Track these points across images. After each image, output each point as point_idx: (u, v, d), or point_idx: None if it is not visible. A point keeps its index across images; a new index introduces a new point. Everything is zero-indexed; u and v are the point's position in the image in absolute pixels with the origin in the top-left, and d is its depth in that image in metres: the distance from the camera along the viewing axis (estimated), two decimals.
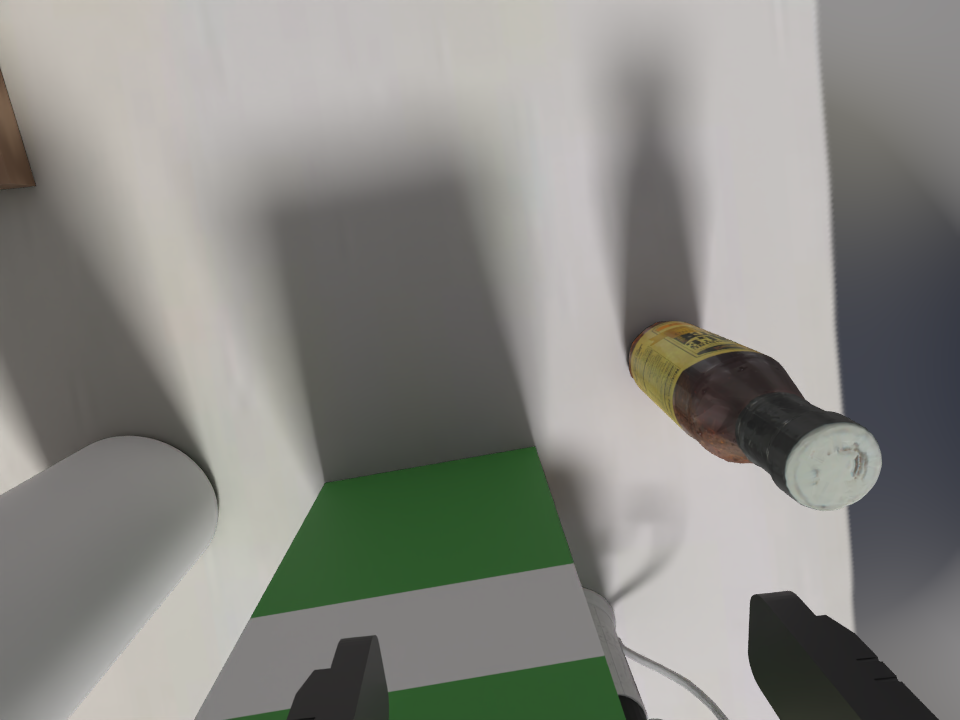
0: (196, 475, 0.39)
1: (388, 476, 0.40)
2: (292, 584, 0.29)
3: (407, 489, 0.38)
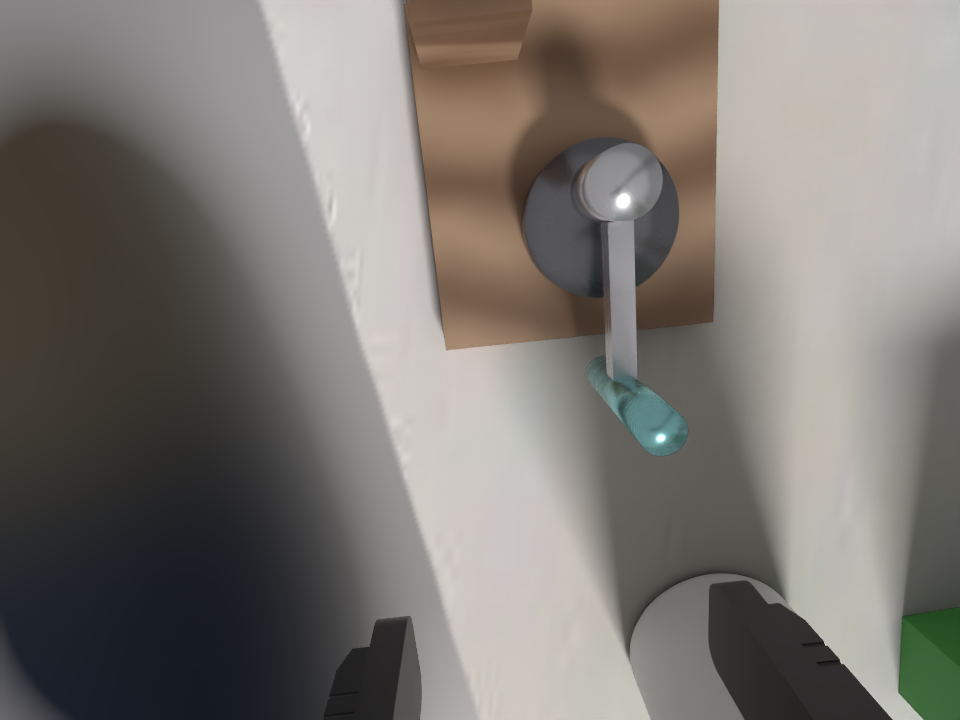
0: None
1: None
2: None
3: None
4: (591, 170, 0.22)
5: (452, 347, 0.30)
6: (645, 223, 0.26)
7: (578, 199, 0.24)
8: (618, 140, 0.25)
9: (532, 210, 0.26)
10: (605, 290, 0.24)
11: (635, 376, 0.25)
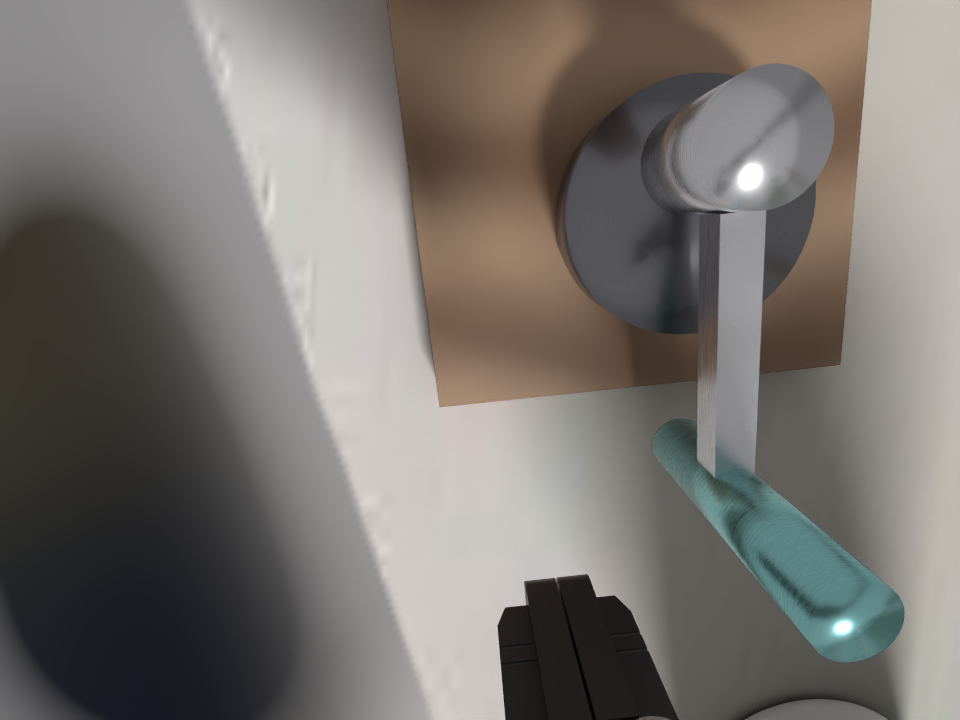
0: None
1: None
2: None
3: None
4: (703, 116, 0.12)
5: (449, 403, 0.20)
6: None
7: (661, 175, 0.14)
8: (723, 78, 0.15)
9: (578, 195, 0.16)
10: (704, 328, 0.15)
11: (752, 470, 0.15)
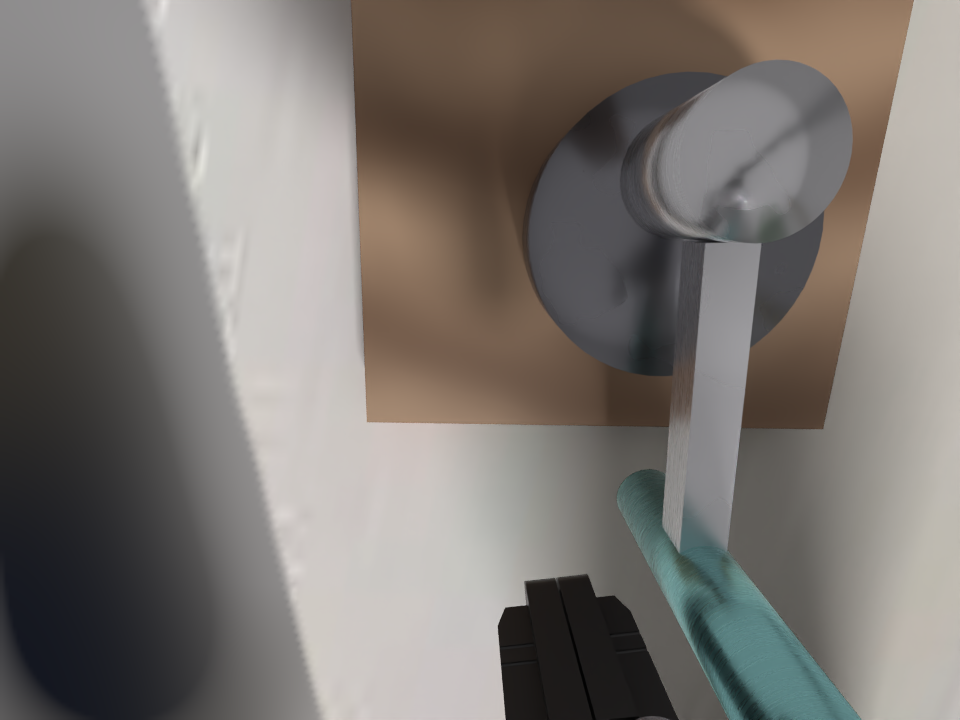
0: None
1: None
2: None
3: None
4: (689, 120, 0.09)
5: (378, 419, 0.17)
6: None
7: (640, 189, 0.12)
8: None
9: (544, 206, 0.13)
10: (679, 376, 0.12)
11: (724, 548, 0.12)
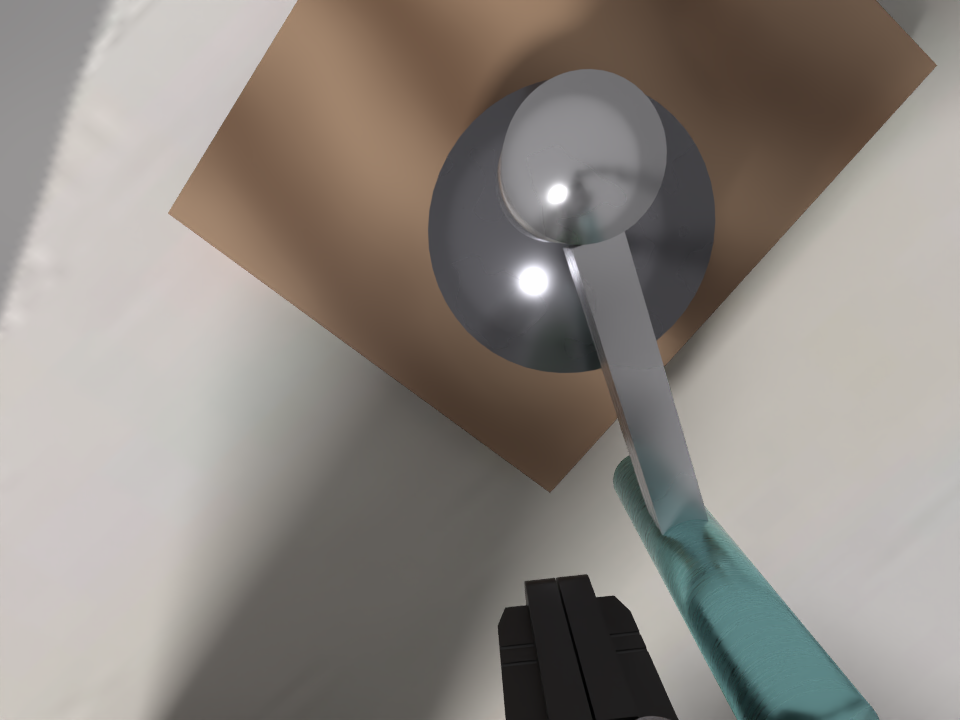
0: None
1: None
2: None
3: None
4: (502, 154, 0.10)
5: (180, 218, 0.16)
6: (652, 219, 0.14)
7: (508, 213, 0.12)
8: None
9: (440, 250, 0.14)
10: (604, 370, 0.12)
11: (704, 518, 0.13)
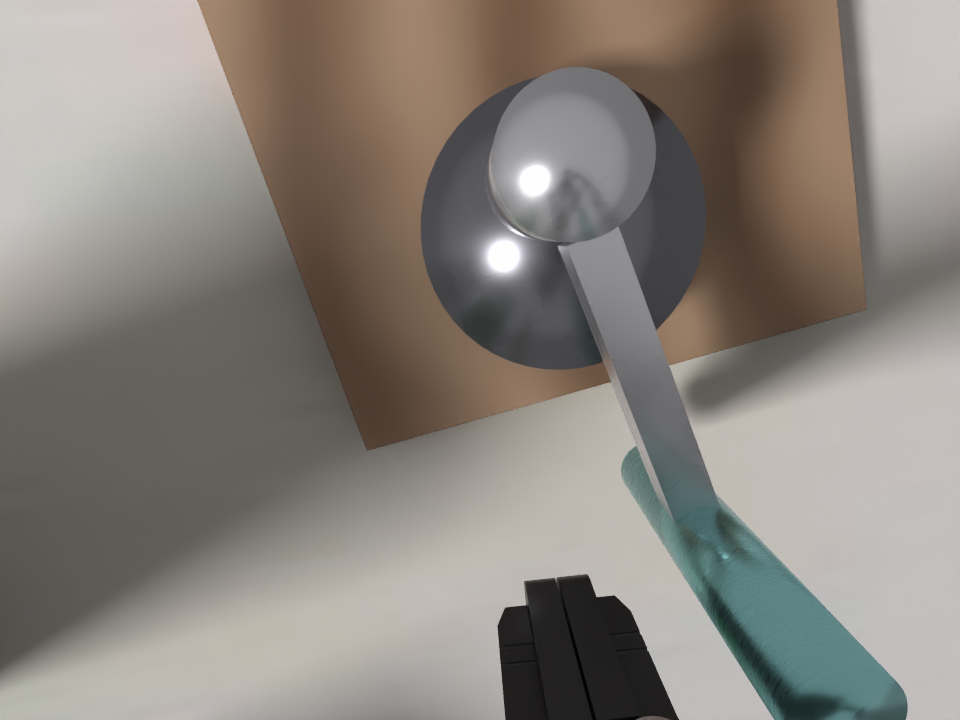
0: None
1: None
2: None
3: None
4: (492, 157, 0.10)
5: None
6: (643, 210, 0.14)
7: (501, 215, 0.12)
8: None
9: (434, 256, 0.14)
10: (607, 365, 0.13)
11: (715, 505, 0.13)
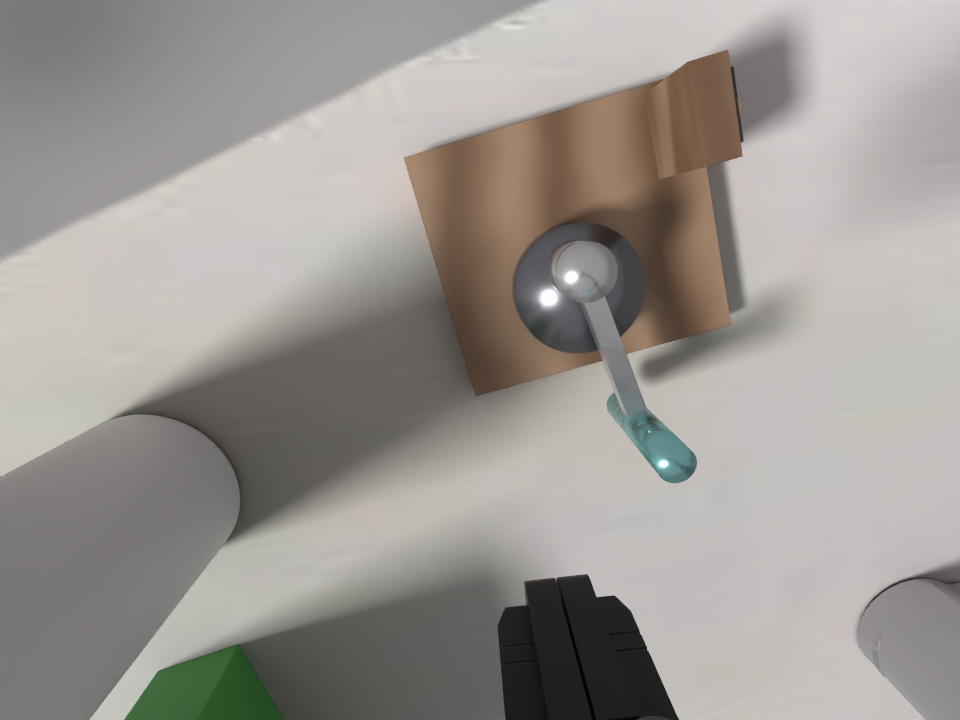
0: None
1: (264, 702, 0.42)
2: None
3: None
4: (557, 272, 0.26)
5: (407, 163, 0.31)
6: (616, 280, 0.31)
7: (555, 286, 0.29)
8: (572, 225, 0.30)
9: (521, 300, 0.31)
10: (599, 350, 0.29)
11: (645, 411, 0.29)
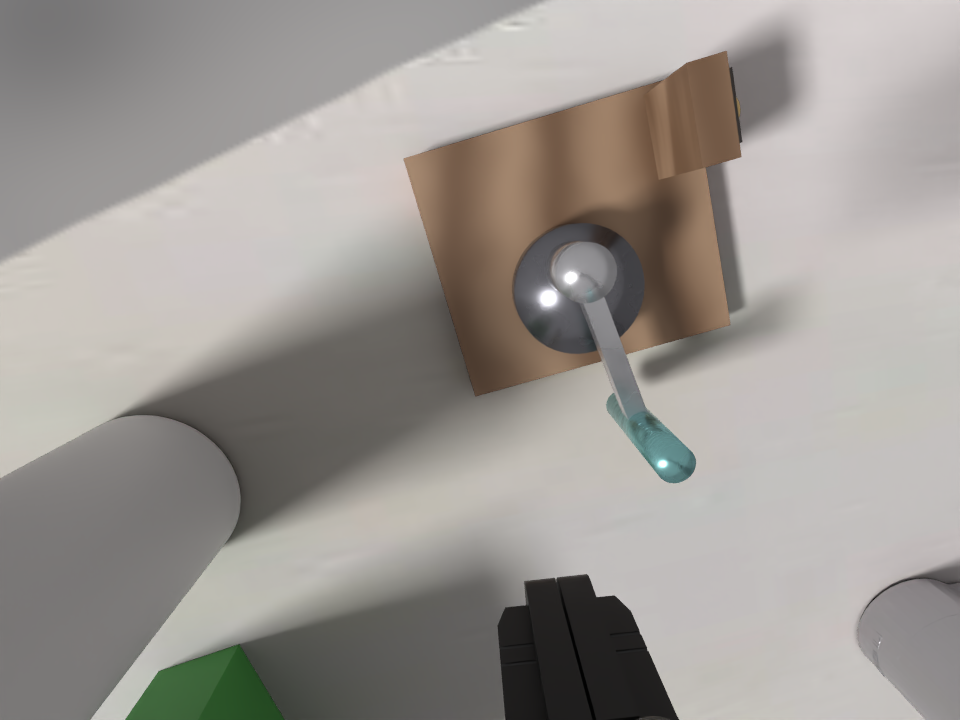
0: None
1: (264, 702, 0.42)
2: None
3: None
4: (556, 272, 0.26)
5: (407, 164, 0.31)
6: (615, 281, 0.31)
7: (554, 287, 0.29)
8: (572, 225, 0.30)
9: (520, 301, 0.31)
10: (599, 350, 0.29)
11: (645, 411, 0.29)
